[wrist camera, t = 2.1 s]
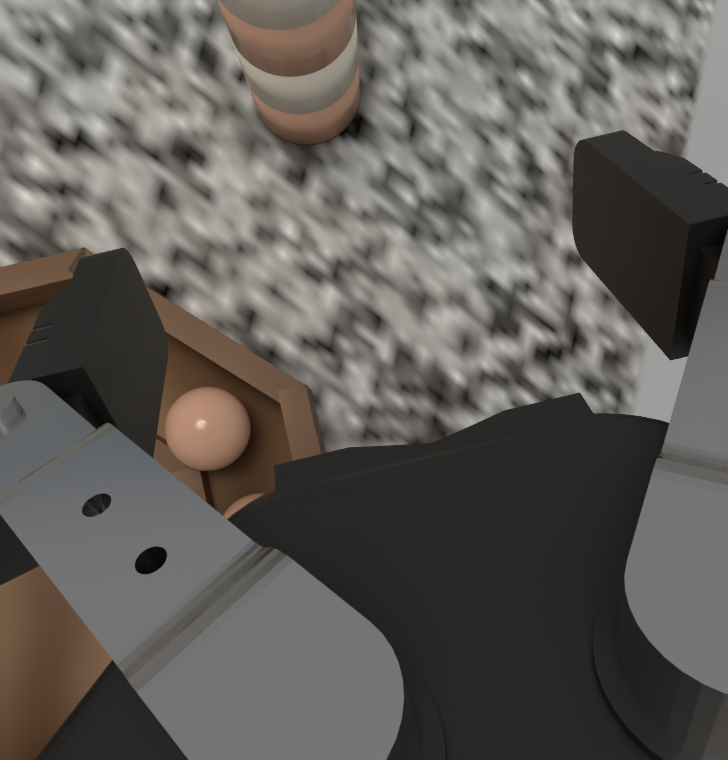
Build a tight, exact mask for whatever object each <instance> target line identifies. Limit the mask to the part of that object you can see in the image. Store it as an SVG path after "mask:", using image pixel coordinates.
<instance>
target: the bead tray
mask: <svg viewBox="0 0 728 760" xmlns="http://www.w3.org/2000/svg"><path fill="white" fill-rule="evenodd" d="M90 255H94V254H93V253H92V252H90V251H89V250H87V249H86V248H81V249H77V250H72V251H68V252H64V253H60V254H55V255H51V256H47V257H43V258H39V259H34V260H30V261H26V262H22V263H17V264H13V265H9V266H5V267H0V386H2V385H5V384H8V381H9V379H10V377H11V375H12V372H13V370H14V368H15V366H16V364H17V361H18V359H19V357H20V355H21V352H22V350H23V348H24V347H25V346H27V345H26V341H27V339H28V337H29V335H30V332H31V331H33V326H34V323H35V321H36V319H37V317H38V315H39V312H40V310H41V309H42V308H43V307H44V306H45V305H46V304H47V303H48V302H49V301H50V300H51V299H52V298H53V297H54V296H55V295H56V294H57V293H58V292H59V291H63V290H67V289H68V286H69V284H70V281H71V279H72V277H73V274H74V272H75V269H76V267H77V264H78V262H79V260H80V258H82V257H86V256H90ZM146 288H147V290H148V293H149V295H150V297H151V299H152V301H153V304H154V306H155V308H156V310H157V312H158V315H159V317H160V319H161V321H162V324H163V326H164V329H165V333H166V337H167V342H168V352H169V353H168V361H167V368H166V375H165V382H164V388H163V395H162V402H161V409H160V416H159V422H158V429H157V436H156V443H155V449H154V456H153V459H154V460H156V461H157V462H158V463H159V464H160V465H162V466H163V467H164V468H165V469H166V470H168V471H169V472H170V473H171V474H173V475H174V476H175V477H176V478H177V479H179V480H180V481H181V482H182V483H183V484H185V485H186V486H187V487H188V488H190V489H191V490H192V491H193V492H194V493H196V494H197V495H198V496H199V497H200V498H202V499H203V500H204V501H205V502H207V503H208V504H209V505H210V506H211V507H213V508H214V509H215V510H216V511H217V512H219V513H220V514H221V515H222V516H223V514H224V513H225V512H226V510H227V509H228V508H229V507H230V506H231V505H232V504H233V503H234V502H236V501H237V500H239V499H240V498H242V497H244V496H247V495H250V494H255V493H267V492H269V491H271V490H274V489H275V475H274V465H277V464H282V463H286V462H290V461H294V460H298V459H303V458H307V457H311V456H315V455H319V454H324V453H325V449H324V444H323V440H322V436H321V431H320V427H319V422H318V418H317V414H316V409H315V405H314V400H313V396H312V390H311V389H310V388H309V387H308V386H307V385H305V384H303V383H301V382H299V381H298V380H296V379H295V378H293V377H291V376H290V375H288V374H287V373H285V372H283V371H282V370H280V369H278V368H277V367H275V366H274V365H272V364H270V363H269V362H267V361H266V360H264V359H262V358H261V357H259V356H257V355H256V354H254V353H253V352H251V351H249V350H248V349H246V348H245V347H243V346H241V345H240V344H238V343H237V342H235V341H233V340H232V339H230V338H228V337H227V336H225V335H224V334H222V333H220V332H219V331H217V330H216V329H214V328H212V327H211V326H209V325H207V324H206V323H204V322H203V321H201V320H199V319H198V318H196V317H195V316H193V315H191V314H190V313H188V312H186V311H185V310H183V309H182V308H180V307H178V306H177V305H175V304H174V303H172V302H170V301H169V300H167V299H165V298H164V297H162V296H161V295H159V294H157V293H156V292H154V291H153V290H151V289H149V288H148V287H146ZM200 387H217V388H221V389H224V390H226V391H228V392H230V393H232V394H233V395H235V396H236V397H237V398H238V399H239V400H240V401H241V402H242V403H243V405H244V406H245V408H246V410H247V412H248V414H249V418H250V423H251V432H250V438H249V442H248V444H247V446H246V448H245V450H244V452H243V453H242V454H241V456H240V457H239V458H238V459H237V460H235V461H234V462H233V463H231V464H230V465H228V466H226V467H224V468H221V469H218V470H213V471H202V470H196V469H193V468H190V467H188V466H186V465H184V464H183V463H181V462H180V461H179V460H178V459H177V458H176V457H175V456H174V455H173V454H172V452H171V451H170V449H169V447H168V445H167V442H166V438H165V421H166V417H167V414H168V412H169V410H170V408H171V406H172V405H173V404H174V402H175V401H176V400H177V399H178V398H179V397H181V396H182V395H183V394H185V393H186V392H188V391H191V390H193V389H196V388H200ZM111 661H112V658H111V657H110V656H109V654H108V653H107V652H106V650H105V649H104V648H103V647H102V645H101V644H100V643H99V641H98V640H97V639H96V638H95V636H94V635H93V634H92V632H91V631H90V630H89V629H88V627H87V626H86V625H85V623H84V622H83V621H82V619H81V618H80V617H79V616H78V614H77V613H76V612H75V610H74V609H73V608H72V607H71V605H70V604H69V603H68V601H67V600H66V599H65V597H64V596H63V595H62V594H61V592H60V591H59V590H58V588H57V587H56V586H55V585H54V583H53V582H52V581H51V579H50V578H49V577H48V576H47V574H46V573H45V572H44V570H43V569H42V568H41V566H38V567H36V568H34V569H32V570H30V571H28V572H26V573H24V574H22V575H20V576H18V577H16V578H14V579H12V580H10V581H8V582H6V583H4V584H2V585H0V760H35V759H36V757H37V756H38V755H39V753H40V752H41V751H42V750H43V748H44V747H45V746H46V744H47V743H48V742H49V741H50V739H51V738H52V737H53V735H54V734H55V733H56V732H57V730H58V729H59V728H60V726H61V725H62V724H63V723H64V721H65V720H66V719H67V717H68V716H69V715H70V714H71V712H72V711H73V710H74V708H75V707H76V706H77V704H78V703H79V702H80V701H81V699H82V698H83V697H84V695H85V694H86V693H87V692H88V690H89V689H90V688H91V686H92V685H93V684H94V683H95V681H96V680H97V679H98V677H99V676H100V675H101V674H102V672H103V671H104V670H105V668H106V667H107V666H108V665H109V663H110V662H111Z"/></svg>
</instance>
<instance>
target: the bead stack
mask: <svg viewBox="0 0 728 760" xmlns="http://www.w3.org/2000/svg"><path fill="white" fill-rule="evenodd" d="M218 3H219V6H220V8H221V11H222V14H223V17H224V19H225V22H226V25H227V28H228V31H229V33H230V36H231V39H232V42H233V44H234V47H235V50H236V53H237V55H238V58H239V61H240V64H241V67H242V69H243V72H244V75H245V78H246V80H247V83H248V86H249V89H250V92H251V94H252V97H253V100H254V103H255V105H256V108H257V111H258V114H259V116H260V118H261V120H262V121H263V123H264V124H265V125H266V127H267V128H268V129H269V130H270V131H271V132H272V133H273V134H275V135H276V136H278V137H279V138H281V139H283V140H285V141H288V142H291V143H295V144H301V145H313V144H319V143H322V142H325V141H328V140H330V139H332V138H334V137H336V136H337V135H339V134H340V133H341V132H343V131H344V130H345V129H346V128H347V127H348V126H349V124H350V123H351V122H352V120H353V118H354V117H355V115H356V112H357V110H358V107H359V103H360V77H359V59H358V41H357V23H356V5H355V0H218Z"/></svg>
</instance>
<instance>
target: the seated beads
mask: <svg viewBox="0 0 728 760" xmlns="http://www.w3.org/2000/svg"><path fill="white" fill-rule="evenodd" d="M250 432H251V423H250V418H249V414H248V412H247V410H246V408H245V406H244V405H243V403H242V402H241V401H240V400H239V399H238V398H237V397H236V396H235V395H233V394H232V393H230V392H228V391H226V390H224V389H221V388H217V387H200V388H196V389H193V390H191V391H188V392H186V393H185V394H183V395H182V396H181V397H179V398H178V399H177V400H176V401H175V402H174V404H173V405H172V406H171V408H170V410H169V412H168V414H167V417H166V421H165V438H166V442H167V445H168V447H169V449H170V451H171V452H172V454H173V455H174V456H175V457H176V458H177V459H178V460H179V461H180V462H181V463H183V464H184V465H186V466H188V467H190V468H193V469H196V470H202V471H213V470H218V469H221V468H224V467H226V466H228V465H230V464H231V463H233V462H234V461H235V460H237V459H238V458H239V457H240V456H241V454H242V453H243V452H244V450H245V448H246V446H247V444H248V442H249V438H250ZM263 494H265V493H255V494H250V495H247V496H244V497H242V498H240V499H239V500H237V501H236V502H234V503H233V504H232V505H231V506H230V507H229V508H228V509H227V510H226V512H225V513H224V514H223V516H224V517H225V518H226V519H228V518H229V517H230V516H231V515H232V514H234V513H235V512H236V511H238V510H239V509H241V508H242V507H244V506H245V505H246V504H248V503H249V502H251V501H253V500H255V499H256V498H258V497H260V496H262V495H263Z"/></svg>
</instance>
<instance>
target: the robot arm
mask: <svg viewBox="0 0 728 760" xmlns="http://www.w3.org/2000/svg"><path fill="white" fill-rule="evenodd" d="M572 227H573V236H574V241H575V244H576V247H577V250H578V252H579V254H580V256H581V258H582V259H583V260H584V261H585V262H586V264H587V265H588V266H589V267H590V268H591V269H592V270H593V272H594V273H595V274H596V275H597V276H598V277H599V279H600V280H601V281H602V282H603V283H604V284H605V285H606V287H607V288H608V289H609V290H610V291H611V292H612V294H613V295H614V296H615V297H616V298H617V299H618V300H619V302H620V303H621V304H622V305H623V306H624V307H625V309H626V310H627V311H628V312H629V313H630V314H631V315H632V317H633V318H634V319H635V320H636V321H637V322H638V324H639V325H640V326H641V327H642V328H643V329H644V331H645V332H646V333H647V334H648V335H649V336H650V337H651V339H652V340H653V341H654V342H655V343H656V344H657V346H658V347H659V348H660V349H661V350H662V351H663V352H664V354H665V355H666V356H667V357H668V358H669V359H670V360H674V359H679V358H683V357H687V356H688V359H687V363H686V366H685V370H684V373H683V377H682V380H681V384H680V388H679V391H678V395H677V398H676V402H675V405H674V409H673V413H672V416H671V420H670V423H667V422H664V421H661V420H656V419H651V418H646V417H642V416H634V415H626V414H609V413H596V414H593V412H592V411H591V409H590V408H589V406H588V404H587V403H586V401H585V400H584V398H583V397H582V395H581V394H580V393H576V394H572V395H568V396H564V397H559V398H555V399H551V400H547V401H543V402H538V403H534V404H530V405H526V406H522V407H517V408H513V409H509V410H505V411H503V412H500V413H498V414H496V415H494V416H492V417H489V418H487V419H485V420H483V421H481V422H478V423H476V424H474V425H472V426H469V427H467V428H465V429H463V430H461V431H458V432H456V433H454V434H452V435H450V436H447V437H445V438H443V439H441V440H438V441H436V442H432V443H428V444H412V445H391V446H369V447H349V448H345V449H340V450H336V451H332V452H328V453H324V454H319V455H315V456H311V457H307V458H303V459H298V460H294V461H290V462H286V463H282V464H277V465H274V475H275V489H274V490H271V491H269V492H267V493H265V494H263V495H262V496H260V497H258V498H256V499H255V500H253V501H251V502H249V503H248V504H246V505H245V506H244V507H242V508H241V509H239V510H238V511H236V512H235V513H234V514H232V515H231V516H230V517H229V518H228V519H226V518H225V517H224V516H222V515H221V514H220V513H219V512H217V511H216V510H215V509H214V508H213V507H211V506H210V505H209V504H208V503H207V502H205V501H204V500H203V499H202V498H200V497H199V496H198V495H197V494H196V493H194V492H193V491H192V490H191V489H190V488H188V487H187V486H186V485H185V484H183V483H182V482H181V481H180V480H179V479H177V478H176V477H175V476H174V475H173V474H171V473H170V472H169V471H168V470H166V469H165V468H164V467H163V466H162V465H160V464H159V463H158V462H157V461H156V460H154V459H153V456H154V449H155V443H156V436H157V429H158V422H159V416H160V409H161V402H162V395H163V388H164V382H165V375H166V368H167V361H168V353H169V352H168V342H167V337H166V333H165V329H164V326H163V324H162V321H161V319H160V317H159V315H158V312H157V310H156V308H155V306H154V304H153V301H152V299H151V297H150V295H149V293H148V290H147V288H146V286H145V284H144V282H143V279H142V277H141V275H140V273H139V271H138V268H137V266H136V264H135V262H134V260H133V258H132V256H131V255H130V253H129V252H128V251H127V250H126V249H125V248H120V249H115V250H111V251H107V252H103V253H98V254H94V255H90V256H86V257H82V258H80V260H79V262H78V264H77V267H76V269H75V272H74V274H73V277H72V279H71V281H70V284H69V286H68V289H67V290H63V291H59V292H58V293H57V294H56V295H55V296H54V297H53V298H52V299H51V300H50V301H49V302H48V303H47V304H46V305H45V306H44V307H43V308H42V309H41V310H40V312H39V315H38V317H37V319H36V321H35V323H34V326H33V331H31V332H30V335H29V337H28V339H27V341H26V345H27V346H25V347H24V348H23V350H22V352H21V355H20V357H19V359H18V361H17V364H16V366H15V368H14V370H13V372H12V375H11V377H10V379H9V381H8V384H5V385H2V386H0V585H2V584H4V583H6V582H8V581H10V580H12V579H14V578H16V577H18V576H20V575H22V574H24V573H26V572H28V571H30V570H32V569H34V568H36V567H38V566H41V568H42V569H43V570H44V572H45V573H46V574H47V576H48V577H49V578H50V579H51V581H52V582H53V583H54V585H55V586H56V587H57V588H58V590H59V591H60V592H61V594H62V595H63V596H64V597H65V599H66V600H67V601H68V603H69V604H70V605H71V607H72V608H73V609H74V610H75V612H76V613H77V614H78V616H79V617H80V618H81V619H82V621H83V622H84V623H85V625H86V626H87V627H88V629H89V630H90V631H91V632H92V634H93V635H94V636H95V638H96V639H97V640H98V641H99V643H100V644H101V645H102V647H103V648H104V649H105V650H106V652H107V653H108V654H109V656H110V657H111V658H112V661H111V662H110V663H109V665H108V666H107V667H106V668H105V670H104V671H103V672H102V674H101V675H100V676H99V677H98V679H97V680H96V681H95V683H94V684H93V685H92V686H91V688H90V689H89V690H88V692H87V693H86V694H85V695H84V697H83V698H82V699H81V701H80V702H79V703H78V704H77V706H76V707H75V708H74V710H73V711H72V712H71V714H70V715H69V716H68V717H67V719H66V720H65V721H64V723H63V724H62V725H61V726H60V728H59V729H58V730H57V732H56V733H55V734H54V735H53V737H52V738H51V739H50V741H49V742H48V743H47V744H46V746H45V747H44V748H43V750H42V751H41V752H40V753H39V755H38V756H37V757H36V759H35V760H728V187H726V186H725V185H724V184H722V183H717V180H716V179H715V178H713V177H711V176H710V175H709V174H707V173H702V170H701V169H700V168H698V167H697V166H695V165H694V164H692V163H690V162H689V161H688V160H686V159H684V158H681V157H678V156H674V155H670V154H667V153H663V152H660V151H653V150H652V149H651V148H649V147H648V146H646V145H645V144H643V143H642V142H640V141H639V140H638V139H636V138H635V137H633V136H632V135H630V134H629V133H627V132H626V131H623V130H621V131H617V132H613V133H609V134H604V135H600V136H596V137H592V138H588V139H583V140H580V141H579V142H578V143H577V145H576V147H575V151H574V164H573V218H572Z"/></svg>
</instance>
